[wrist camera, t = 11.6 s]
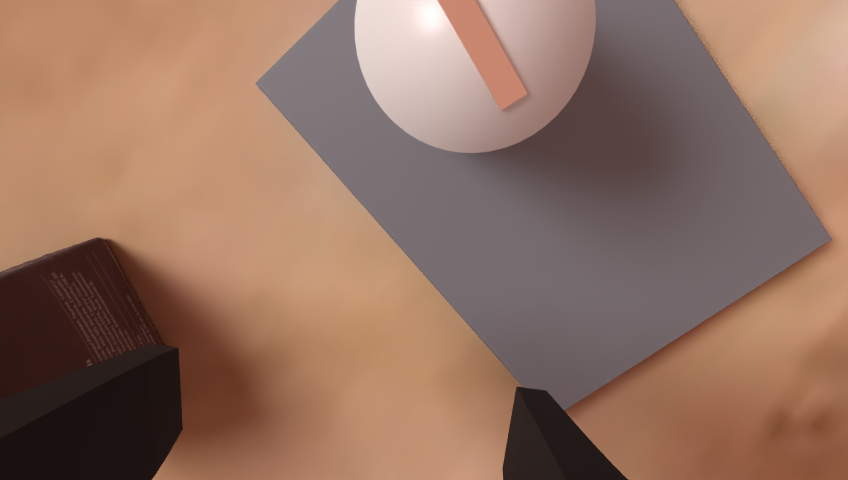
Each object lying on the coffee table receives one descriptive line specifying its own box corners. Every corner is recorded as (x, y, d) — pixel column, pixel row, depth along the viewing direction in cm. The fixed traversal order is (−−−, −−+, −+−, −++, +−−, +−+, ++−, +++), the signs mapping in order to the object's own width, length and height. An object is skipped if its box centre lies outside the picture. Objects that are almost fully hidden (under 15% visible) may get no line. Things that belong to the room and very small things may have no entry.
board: (811, 231, 18) (832, 239, 17) (546, 404, 20) (551, 418, 19) (535, -181, 15) (541, -201, 14) (265, 84, 17) (255, 83, 16)
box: (108, 232, 19) (-87, 307, 12) (176, 358, 21) (36, 489, 14) (-14, 275, 20) (-263, 369, 13) (59, 394, 22) (-129, 534, 15)
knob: (490, -55, 15) (520, -174, 8) (564, 82, 16) (641, 68, 9) (363, 35, 16) (304, -9, 9) (441, 160, 17) (435, 196, 10)
